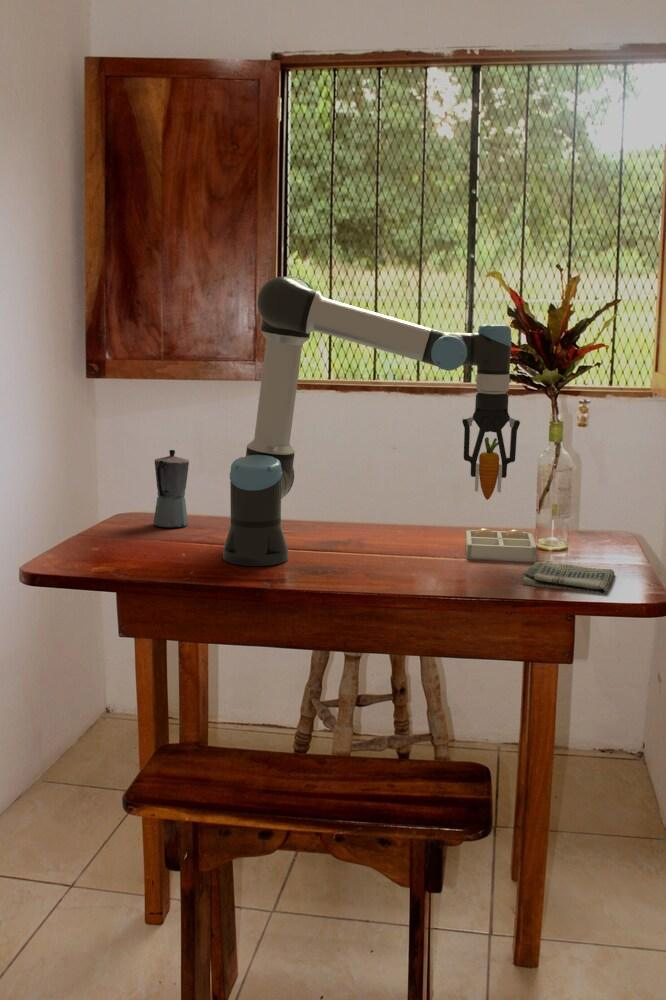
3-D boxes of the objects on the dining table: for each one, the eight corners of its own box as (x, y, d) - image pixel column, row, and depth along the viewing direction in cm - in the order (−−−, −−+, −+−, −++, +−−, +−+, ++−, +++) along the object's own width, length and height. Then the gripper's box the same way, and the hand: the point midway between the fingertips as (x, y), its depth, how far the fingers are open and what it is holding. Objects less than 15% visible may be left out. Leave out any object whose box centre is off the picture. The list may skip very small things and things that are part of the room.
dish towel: (615, 576, 237) (616, 563, 237) (606, 597, 221) (607, 583, 220) (533, 567, 244) (534, 554, 243) (518, 587, 227) (519, 573, 227)
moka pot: (197, 520, 284) (196, 447, 280) (178, 533, 269) (178, 455, 265) (163, 518, 286) (162, 445, 282) (143, 531, 271) (141, 454, 267)
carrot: (492, 497, 252) (495, 435, 249) (501, 501, 248) (504, 438, 245) (473, 498, 251) (476, 435, 248) (481, 502, 246) (484, 438, 243)
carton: (535, 562, 247) (536, 547, 246) (466, 559, 248) (467, 544, 247) (530, 546, 262) (531, 532, 261) (465, 543, 264) (466, 529, 263)
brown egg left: (493, 548, 257) (494, 530, 256) (474, 548, 257) (475, 529, 256) (492, 544, 261) (493, 526, 260) (473, 543, 262) (474, 525, 261)
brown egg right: (524, 550, 256) (525, 531, 255) (505, 549, 256) (506, 531, 255) (523, 545, 260) (524, 527, 259) (504, 544, 261) (505, 526, 260)
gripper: (529, 391, 247) (524, 489, 252) (453, 389, 249) (450, 486, 253) (532, 394, 240) (526, 495, 244) (454, 392, 241) (450, 492, 246)
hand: (487, 490), depth 249 cm, fingers closed on carrot, 5 cm apart
